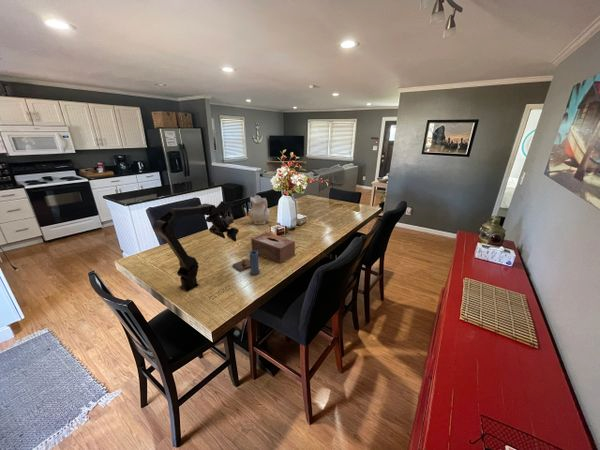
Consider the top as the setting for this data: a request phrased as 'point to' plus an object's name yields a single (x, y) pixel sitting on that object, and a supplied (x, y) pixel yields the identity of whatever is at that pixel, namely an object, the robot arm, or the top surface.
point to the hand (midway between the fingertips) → (230, 239)
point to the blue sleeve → (254, 262)
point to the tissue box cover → (273, 247)
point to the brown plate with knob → (242, 265)
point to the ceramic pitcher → (259, 210)
